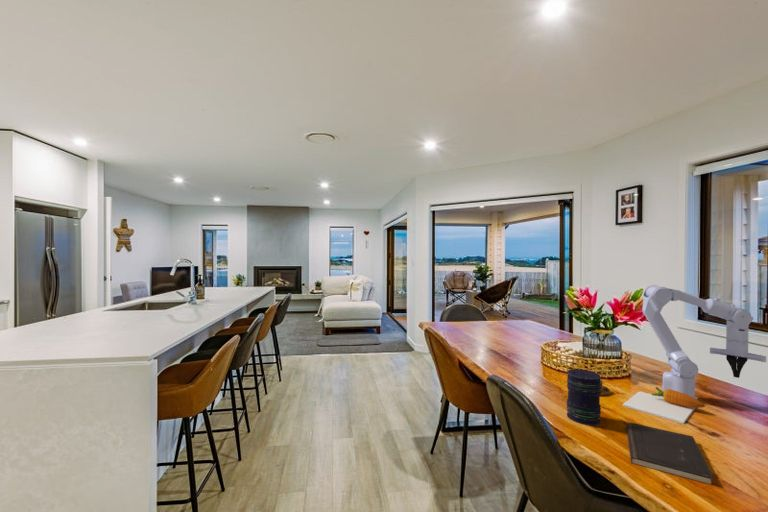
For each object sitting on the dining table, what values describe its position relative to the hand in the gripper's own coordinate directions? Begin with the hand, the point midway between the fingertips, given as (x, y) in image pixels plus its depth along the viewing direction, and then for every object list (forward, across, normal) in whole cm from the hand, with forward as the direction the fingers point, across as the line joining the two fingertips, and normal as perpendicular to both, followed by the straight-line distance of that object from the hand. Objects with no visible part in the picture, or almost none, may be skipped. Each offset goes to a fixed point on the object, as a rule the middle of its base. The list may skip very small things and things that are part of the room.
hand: (736, 376), depth 128 cm
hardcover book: (+11, +9, +61) cm, 63 cm away
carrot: (+8, +6, +19) cm, 22 cm away
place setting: (+11, +41, +31) cm, 52 cm away
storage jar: (+11, +31, +57) cm, 66 cm away
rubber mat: (+10, +18, +25) cm, 32 cm away
